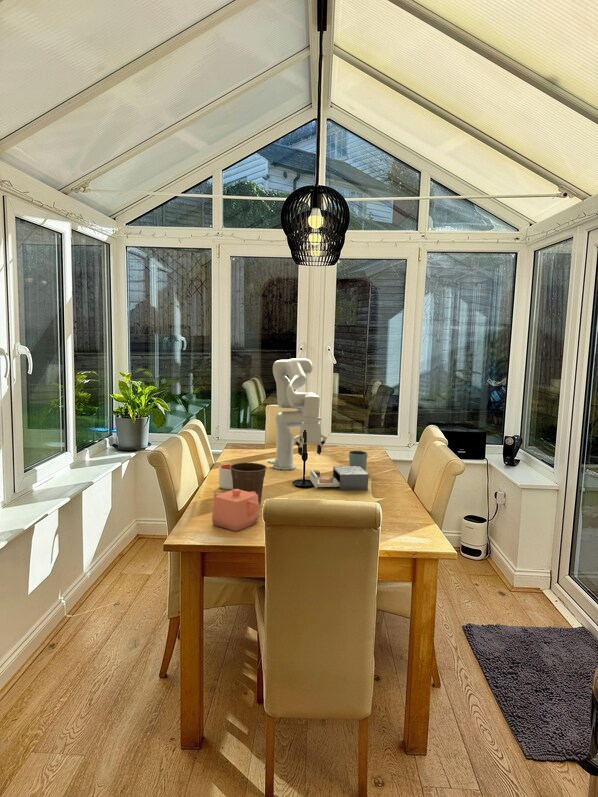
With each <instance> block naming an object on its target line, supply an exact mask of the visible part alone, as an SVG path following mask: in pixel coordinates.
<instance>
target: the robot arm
mask: <svg viewBox="0 0 598 797" xmlns="http://www.w3.org/2000/svg"><path fill="white" fill-rule="evenodd" d="M312 363H313V362H312V361H311V360H310V359H308V358H289V359H279V360H276V361H274V362H273V365H272V374H273V377H274V381H275V384H276V400H277V402H276V403H277V406H278V408H279V409H285V410H283V411H279V412H277V414H276V415H275V426H276V445H275V446H276V447H275V458H274V459H267V461H266V462H267V464H270V465H272V468H274V469H276V470H280V469H282V470H283V471H285V470H286V471H287V470H288V471H289V469H290V470H293V469H296V464H294V444H295V445H296V446H297V453H298V455H299V456H303V445H305V444H317V445H316V454H318V455H319V456H320V455H321V453H322V447H323V446H324V445H325V444H326V441H327V439H328V437H327V436H325V435H323V434H322V430H321V423H320V421H322V417H320V404H321V403H320V401H321V400H320V396H319V395H317V394H316V393H314V392H305V391H304V392H303V391H302V392H301V391H295V390H298V389H300V388H302V387H304V385H306V384H307V380H308V379H307V376H308V375H311V374H312V372H313V364H312ZM288 409H290V410H288ZM293 409H294V410H293ZM295 409H296V410H295ZM290 429H299V434H298V435H296V436H294V434H293V433H292V431H291V430H290ZM304 430H306V432H307V442H306V443H304V438H303V432H304ZM298 441H299V442H298Z"/></svg>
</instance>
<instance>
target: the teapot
mask: <svg viewBox="0 0 598 797" xmlns="http://www.w3.org/2000/svg"><path fill="white" fill-rule="evenodd" d="M213 497H214V499H213V506H212V514H211V515H212V516H211V518H212V519H211V520H212V525H213V526H217V527H219V528H223V529H226V530H227V529H228V530H230V531H234V532H238V531H241V530H244V529H246V528H248V527H249V526H252V525H254V524H256V523H257V522H258V521H259V516H260V514H259V513H260V510H259V509H260V504H258V495H257V494H256V492H254V491H250V492H247V491H243V490H240V489H230V490H228V491H225V492H216V493H214V494H213Z"/></svg>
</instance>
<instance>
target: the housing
mask: <svg viewBox="0 0 598 797" xmlns="http://www.w3.org/2000/svg"><path fill="white" fill-rule="evenodd" d="M369 476H370V475H369V473H368V472H367V470H366V471H364V470H363V469H362V468H361V467H360V466H349V465H343V466H342V465H334V466H332V477H335V479H337V480H338V482H339V483H340V487H338V488H339V489H340V490H347V491H368V490H369ZM338 488H337V489H338ZM339 489H338V490H339ZM340 490H339V491H340Z"/></svg>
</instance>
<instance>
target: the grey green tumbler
mask: <svg viewBox="0 0 598 797" xmlns="http://www.w3.org/2000/svg"><path fill="white" fill-rule="evenodd" d="M348 461H349V462H348V463H349V465H348V466H360V467H361V468H362V469H363V470H364V471H366V472H367V464H368V463H367V461H368V451H363V450H350V451H348Z"/></svg>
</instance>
